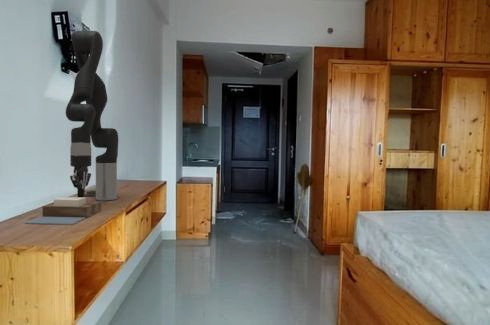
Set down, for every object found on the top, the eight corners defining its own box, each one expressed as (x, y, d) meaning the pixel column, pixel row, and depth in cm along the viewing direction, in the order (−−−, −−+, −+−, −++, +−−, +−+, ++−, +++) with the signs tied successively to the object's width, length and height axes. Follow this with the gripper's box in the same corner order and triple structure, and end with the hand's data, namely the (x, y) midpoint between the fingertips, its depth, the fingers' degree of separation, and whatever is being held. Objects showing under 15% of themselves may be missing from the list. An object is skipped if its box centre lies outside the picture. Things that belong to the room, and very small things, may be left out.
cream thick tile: (62, 203, 132) (62, 197, 132) (85, 203, 132) (85, 197, 132) (53, 206, 126) (53, 199, 126) (78, 206, 126) (78, 200, 126)
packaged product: (112, 192, 186) (93, 193, 184) (112, 183, 186) (92, 184, 184) (104, 197, 168) (82, 199, 167) (103, 188, 168) (81, 189, 166)
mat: (41, 217, 125) (41, 216, 125) (85, 218, 125) (85, 217, 125) (24, 223, 115) (24, 222, 115) (72, 224, 115) (72, 223, 115)
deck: (60, 210, 137) (60, 200, 137) (100, 211, 137) (100, 201, 137) (42, 217, 125) (42, 206, 125) (86, 218, 125) (86, 207, 125)
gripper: (79, 153, 143) (79, 195, 144) (62, 154, 130) (62, 200, 131) (97, 154, 143) (97, 195, 144) (82, 155, 130) (82, 200, 131)
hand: (81, 197), depth 138 cm, fingers closed
